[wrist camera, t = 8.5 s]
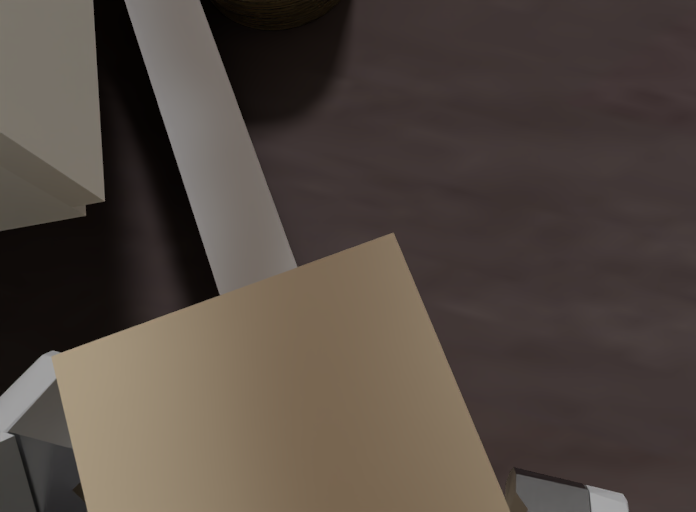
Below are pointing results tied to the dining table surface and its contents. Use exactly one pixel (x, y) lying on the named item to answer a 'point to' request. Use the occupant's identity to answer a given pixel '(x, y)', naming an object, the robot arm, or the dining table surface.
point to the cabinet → (48, 112)
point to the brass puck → (274, 12)
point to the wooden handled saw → (265, 348)
